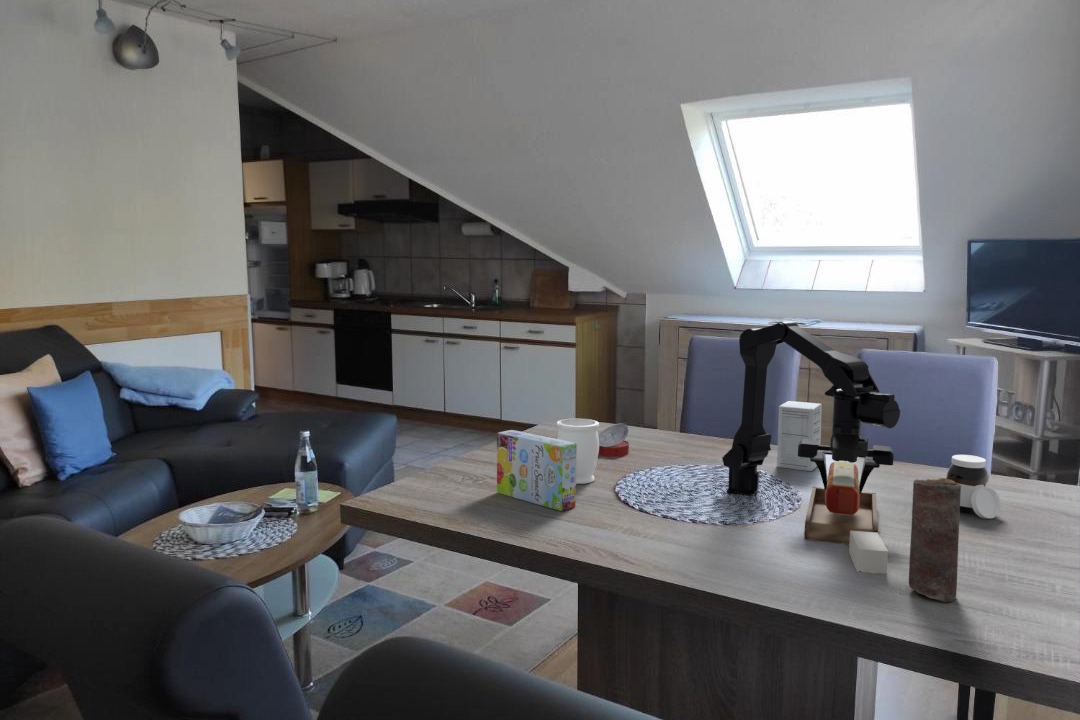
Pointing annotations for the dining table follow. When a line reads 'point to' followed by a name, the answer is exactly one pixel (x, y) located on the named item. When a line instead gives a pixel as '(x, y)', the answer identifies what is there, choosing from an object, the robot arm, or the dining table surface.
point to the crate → (838, 519)
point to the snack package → (842, 489)
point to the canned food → (614, 441)
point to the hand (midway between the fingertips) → (842, 491)
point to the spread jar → (974, 486)
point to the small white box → (868, 552)
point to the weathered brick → (935, 538)
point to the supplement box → (797, 433)
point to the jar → (582, 445)
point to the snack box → (537, 469)
